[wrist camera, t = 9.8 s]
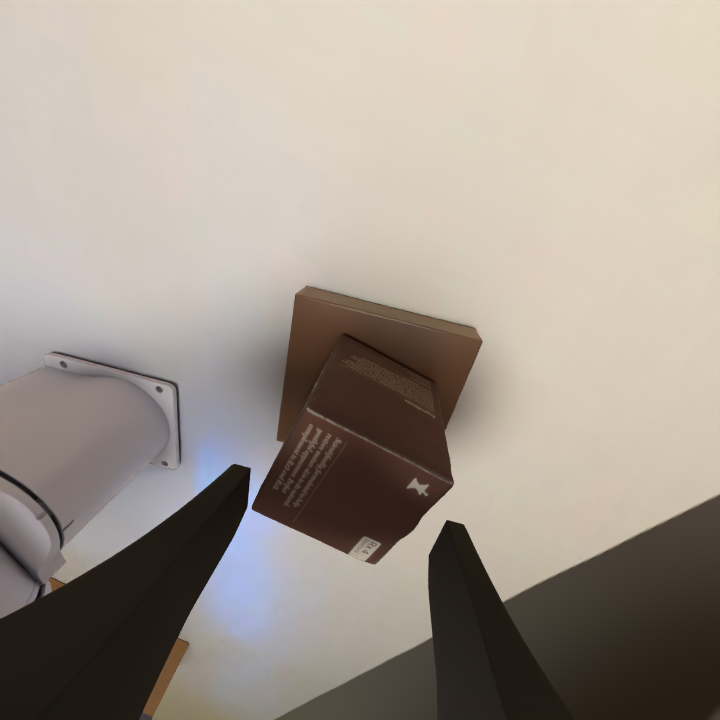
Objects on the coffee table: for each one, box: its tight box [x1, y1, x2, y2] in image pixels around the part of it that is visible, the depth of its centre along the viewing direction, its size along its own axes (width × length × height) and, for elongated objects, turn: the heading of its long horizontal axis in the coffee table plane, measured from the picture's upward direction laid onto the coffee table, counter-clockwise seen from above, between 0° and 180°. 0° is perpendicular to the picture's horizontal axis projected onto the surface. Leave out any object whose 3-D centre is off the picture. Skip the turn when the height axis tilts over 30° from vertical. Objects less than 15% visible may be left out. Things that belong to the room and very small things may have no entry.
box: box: [252, 335, 454, 564], centre depth 15 cm, size 6×6×7 cm
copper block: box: [277, 286, 483, 442], centre depth 20 cm, size 10×10×2 cm
